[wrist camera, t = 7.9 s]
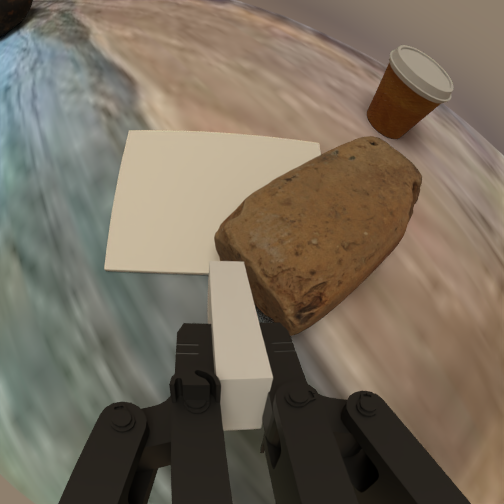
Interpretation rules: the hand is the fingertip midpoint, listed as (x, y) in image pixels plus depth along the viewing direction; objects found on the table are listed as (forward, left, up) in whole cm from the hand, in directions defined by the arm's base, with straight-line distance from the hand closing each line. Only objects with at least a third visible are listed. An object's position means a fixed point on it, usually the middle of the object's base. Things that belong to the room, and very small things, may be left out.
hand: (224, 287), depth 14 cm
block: (-2, -2, -9) cm, 9 cm away
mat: (-1, -12, -14) cm, 19 cm away
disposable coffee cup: (-24, -27, -14) cm, 39 cm away
